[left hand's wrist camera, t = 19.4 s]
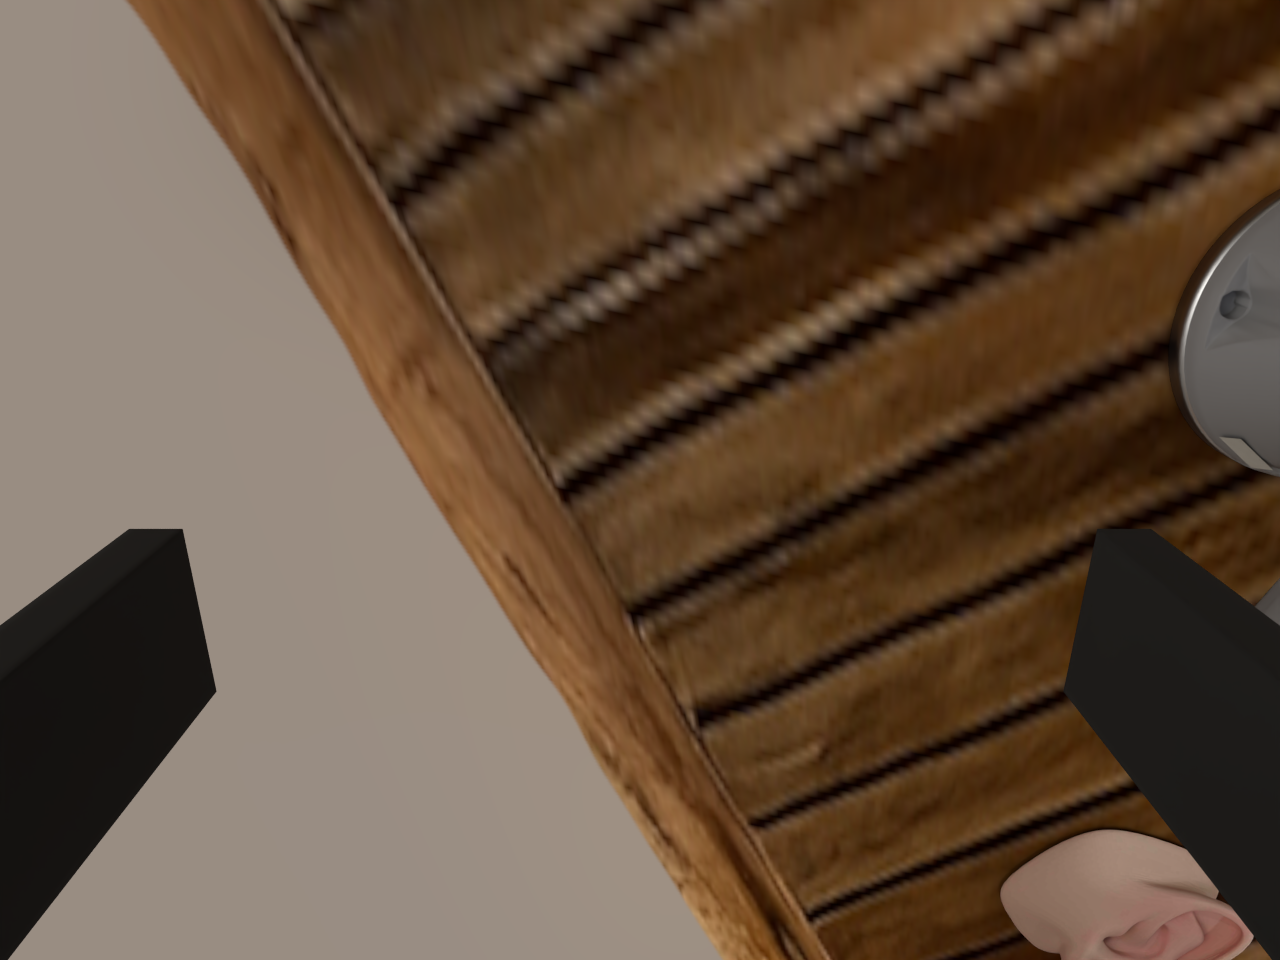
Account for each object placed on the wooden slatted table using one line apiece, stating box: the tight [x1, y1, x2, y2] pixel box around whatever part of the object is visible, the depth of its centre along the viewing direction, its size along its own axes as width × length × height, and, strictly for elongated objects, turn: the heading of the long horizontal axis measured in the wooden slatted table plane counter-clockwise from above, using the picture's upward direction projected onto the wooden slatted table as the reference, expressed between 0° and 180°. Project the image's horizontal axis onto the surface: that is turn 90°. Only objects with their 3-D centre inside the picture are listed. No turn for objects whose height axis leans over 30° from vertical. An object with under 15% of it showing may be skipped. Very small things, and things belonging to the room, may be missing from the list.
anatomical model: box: [1000, 830, 1253, 960], centre depth 55 cm, size 13×4×12 cm
